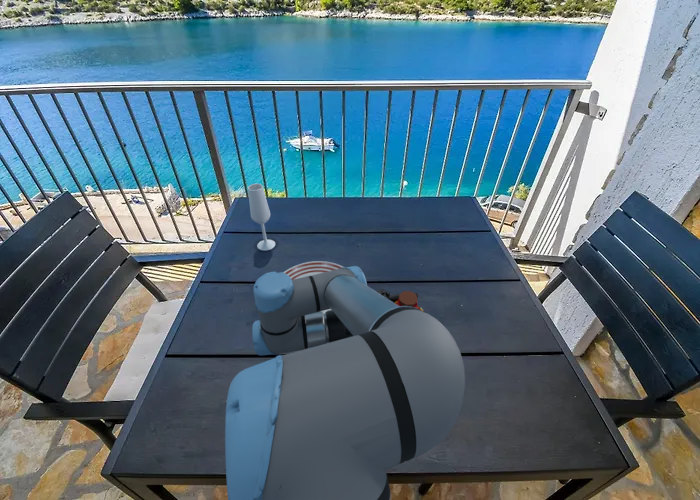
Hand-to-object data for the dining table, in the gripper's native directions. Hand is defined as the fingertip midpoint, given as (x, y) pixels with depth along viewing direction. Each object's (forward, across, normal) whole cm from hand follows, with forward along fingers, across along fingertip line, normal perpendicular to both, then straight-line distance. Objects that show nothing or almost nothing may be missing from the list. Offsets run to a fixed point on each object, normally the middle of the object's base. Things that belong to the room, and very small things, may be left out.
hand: (424, 314), depth 79 cm
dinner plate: (-23, -28, -18) cm, 40 cm away
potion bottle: (-4, 0, -9) cm, 10 cm away
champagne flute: (-38, -57, -18) cm, 71 cm away
